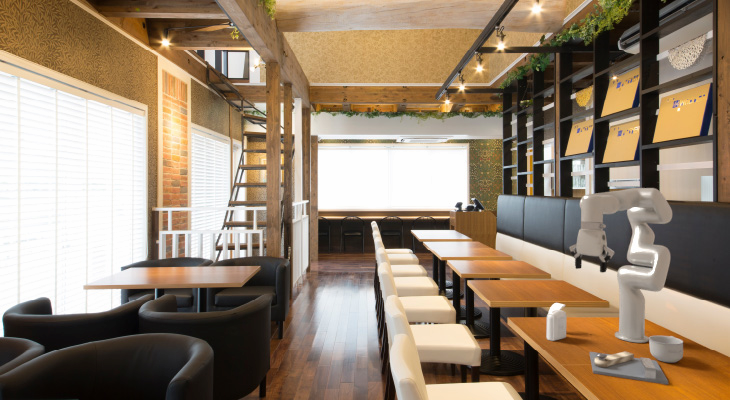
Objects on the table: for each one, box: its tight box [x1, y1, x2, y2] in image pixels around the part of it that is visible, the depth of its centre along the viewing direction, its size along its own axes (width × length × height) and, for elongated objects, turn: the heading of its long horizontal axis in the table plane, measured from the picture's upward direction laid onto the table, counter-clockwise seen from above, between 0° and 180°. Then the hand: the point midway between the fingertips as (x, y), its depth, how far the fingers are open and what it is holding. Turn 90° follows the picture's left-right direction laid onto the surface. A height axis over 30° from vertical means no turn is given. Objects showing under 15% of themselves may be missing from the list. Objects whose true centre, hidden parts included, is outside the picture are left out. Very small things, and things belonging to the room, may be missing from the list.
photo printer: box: [545, 309, 567, 342], centre depth 190 cm, size 10×4×12 cm, turn 123°
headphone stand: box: [548, 302, 566, 313], centre depth 201 cm, size 5×6×12 cm
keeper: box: [639, 357, 656, 379], centre depth 151 cm, size 10×3×5 cm, turn 156°
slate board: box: [589, 351, 669, 386], centre depth 158 cm, size 20×22×1 cm
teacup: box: [648, 335, 684, 363], centre depth 167 cm, size 14×11×8 cm
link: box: [595, 350, 635, 368], centre depth 160 cm, size 18×4×4 cm, turn 116°
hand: (590, 270), depth 171 cm, fingers open, 9 cm apart
